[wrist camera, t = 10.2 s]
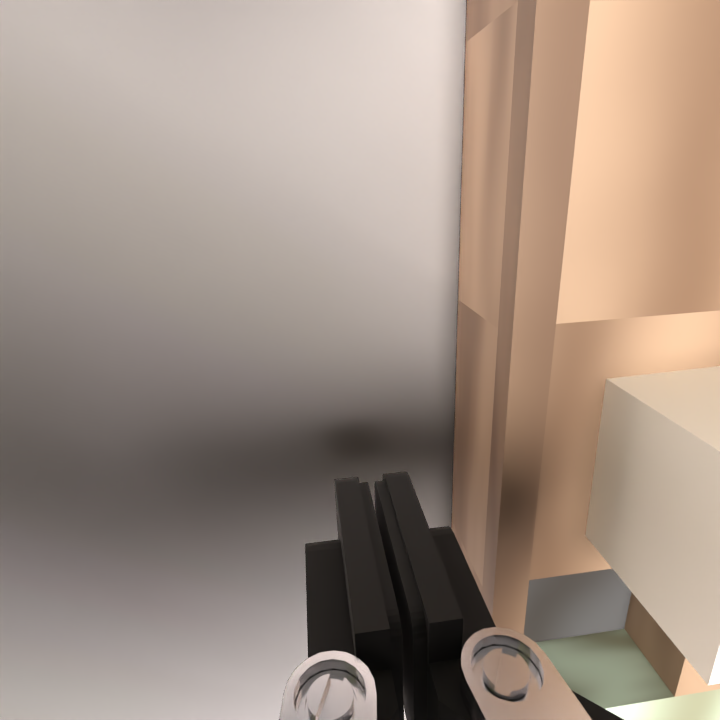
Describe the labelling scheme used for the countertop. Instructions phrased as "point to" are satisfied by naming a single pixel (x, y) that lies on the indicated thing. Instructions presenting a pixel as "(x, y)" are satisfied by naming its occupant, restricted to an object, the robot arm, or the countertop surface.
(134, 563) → the countertop surface
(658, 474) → the cream block
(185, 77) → the countertop surface
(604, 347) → the trap board
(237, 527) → the countertop surface
